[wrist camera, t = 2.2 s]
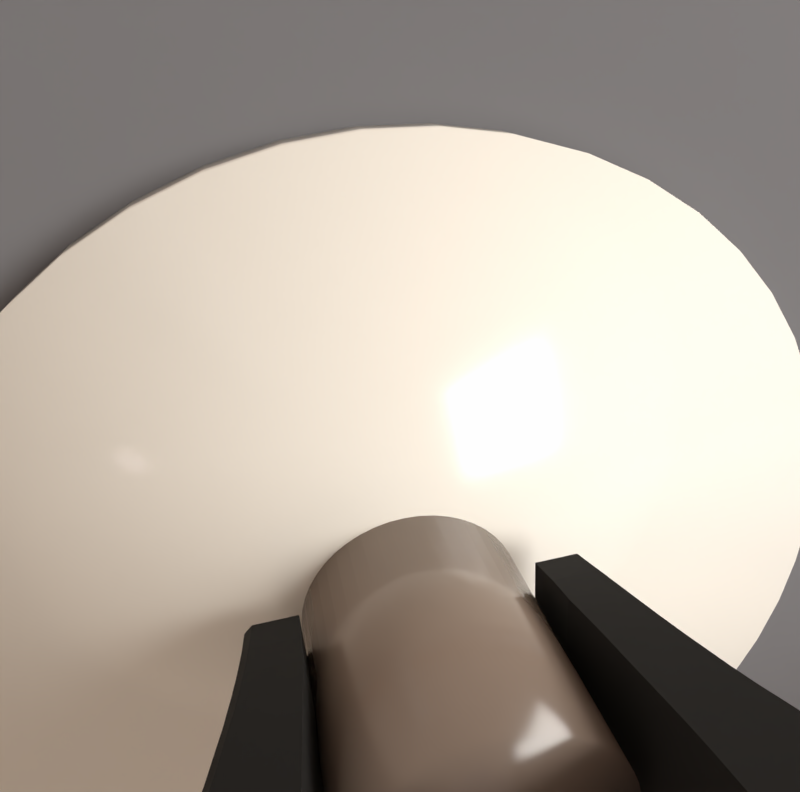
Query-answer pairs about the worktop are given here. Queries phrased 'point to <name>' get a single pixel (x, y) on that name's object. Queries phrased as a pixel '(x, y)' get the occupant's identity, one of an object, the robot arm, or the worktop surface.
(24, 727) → the lid
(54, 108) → the mat
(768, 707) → the robot arm
